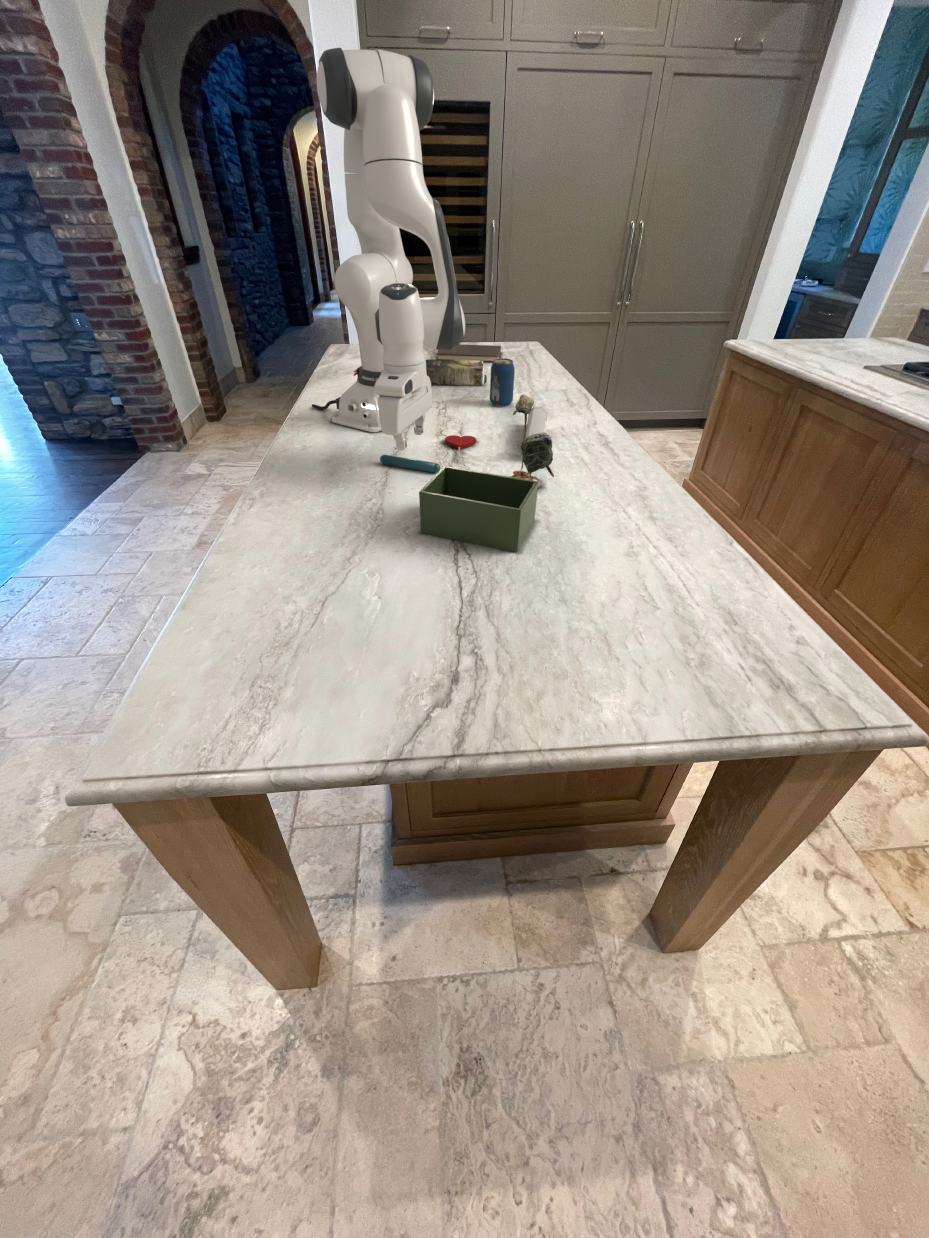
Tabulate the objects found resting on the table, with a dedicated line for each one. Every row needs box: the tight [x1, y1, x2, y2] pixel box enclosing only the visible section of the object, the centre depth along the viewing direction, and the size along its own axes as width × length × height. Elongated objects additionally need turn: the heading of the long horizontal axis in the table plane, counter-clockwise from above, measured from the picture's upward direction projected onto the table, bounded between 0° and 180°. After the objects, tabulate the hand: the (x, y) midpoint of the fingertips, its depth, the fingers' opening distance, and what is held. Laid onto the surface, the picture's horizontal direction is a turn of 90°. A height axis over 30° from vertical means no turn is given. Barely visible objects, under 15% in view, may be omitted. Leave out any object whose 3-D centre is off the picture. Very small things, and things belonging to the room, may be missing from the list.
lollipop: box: [444, 434, 477, 462], centre depth 133 cm, size 8×1×15 cm
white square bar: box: [526, 405, 548, 438], centre depth 136 cm, size 5×5×25 cm
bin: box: [418, 465, 539, 553], centre depth 102 cm, size 19×12×8 cm, turn 70°
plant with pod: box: [508, 394, 555, 489], centre depth 112 cm, size 8×11×20 cm
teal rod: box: [379, 454, 441, 474], centre depth 124 cm, size 15×2×2 cm, turn 70°
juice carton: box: [426, 358, 488, 387], centre depth 176 cm, size 20×10×6 cm, turn 91°
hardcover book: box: [436, 343, 502, 363], centre depth 203 cm, size 16×23×2 cm
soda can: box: [489, 357, 516, 408], centre depth 157 cm, size 7×7×12 cm
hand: (410, 441), depth 121 cm, fingers open, 8 cm apart
